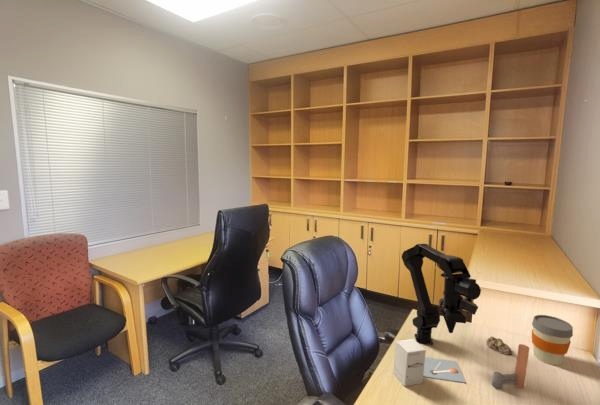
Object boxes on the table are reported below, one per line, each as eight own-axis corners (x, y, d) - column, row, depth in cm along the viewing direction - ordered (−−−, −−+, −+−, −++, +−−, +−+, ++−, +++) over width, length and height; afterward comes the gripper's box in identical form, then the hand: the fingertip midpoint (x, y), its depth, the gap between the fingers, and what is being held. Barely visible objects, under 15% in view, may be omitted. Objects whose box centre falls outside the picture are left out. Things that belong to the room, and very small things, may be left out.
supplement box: (404, 387, 109) (407, 352, 107) (392, 373, 116) (395, 340, 114) (423, 383, 111) (426, 349, 109) (410, 370, 118) (413, 337, 116)
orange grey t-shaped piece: (495, 389, 109) (500, 350, 107) (490, 382, 112) (494, 344, 110) (526, 387, 110) (531, 349, 108) (519, 381, 113) (524, 344, 111)
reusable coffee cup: (575, 370, 121) (581, 333, 119) (537, 365, 123) (542, 328, 121) (556, 351, 133) (561, 316, 131) (522, 346, 135) (526, 312, 133)
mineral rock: (480, 337, 138) (496, 330, 139) (481, 346, 139) (497, 339, 140) (501, 353, 127) (518, 345, 129) (502, 362, 128) (519, 355, 130)
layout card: (417, 356, 126) (417, 355, 126) (455, 361, 124) (456, 360, 124) (423, 376, 115) (423, 375, 115) (465, 383, 112) (465, 382, 112)
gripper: (483, 301, 110) (481, 346, 111) (469, 286, 128) (468, 326, 129) (448, 297, 113) (446, 342, 113) (439, 284, 131) (437, 322, 131)
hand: (450, 332), depth 122 cm, fingers closed
